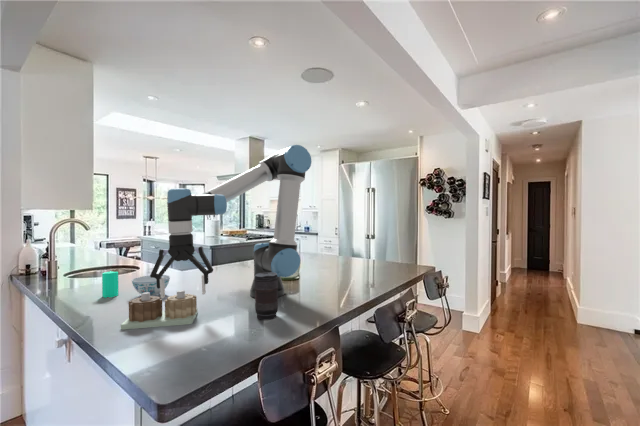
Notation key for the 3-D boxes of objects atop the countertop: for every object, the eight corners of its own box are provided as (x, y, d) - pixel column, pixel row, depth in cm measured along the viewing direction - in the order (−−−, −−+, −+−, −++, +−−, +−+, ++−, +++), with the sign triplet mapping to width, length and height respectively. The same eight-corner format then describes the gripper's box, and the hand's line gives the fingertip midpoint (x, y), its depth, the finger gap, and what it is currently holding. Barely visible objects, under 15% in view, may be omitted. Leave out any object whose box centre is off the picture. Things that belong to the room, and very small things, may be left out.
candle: (112, 297, 137) (112, 270, 137) (99, 297, 137) (98, 270, 137) (121, 294, 143) (121, 267, 143) (108, 294, 143) (108, 267, 143)
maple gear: (198, 309, 115) (198, 292, 115) (193, 317, 105) (193, 299, 105) (169, 311, 113) (169, 294, 113) (162, 320, 103) (162, 301, 103)
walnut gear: (159, 310, 113) (159, 294, 113) (164, 318, 105) (164, 300, 105) (128, 316, 107) (127, 298, 107) (130, 324, 100) (130, 305, 99)
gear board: (197, 312, 116) (197, 286, 116) (191, 324, 104) (191, 294, 104) (134, 317, 111) (133, 290, 111) (120, 329, 99) (120, 299, 99)
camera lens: (252, 315, 113) (252, 273, 113) (274, 312, 116) (274, 271, 116) (257, 322, 105) (257, 277, 105) (280, 318, 108) (280, 275, 108)
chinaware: (147, 290, 149) (147, 274, 149) (177, 291, 147) (176, 275, 147) (123, 299, 134) (123, 281, 134) (155, 300, 132) (155, 282, 132)
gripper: (219, 231, 115) (221, 289, 116) (144, 234, 110) (147, 296, 110) (217, 232, 108) (220, 294, 108) (137, 236, 102) (140, 302, 103)
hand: (183, 295), depth 109 cm, fingers open, 13 cm apart
